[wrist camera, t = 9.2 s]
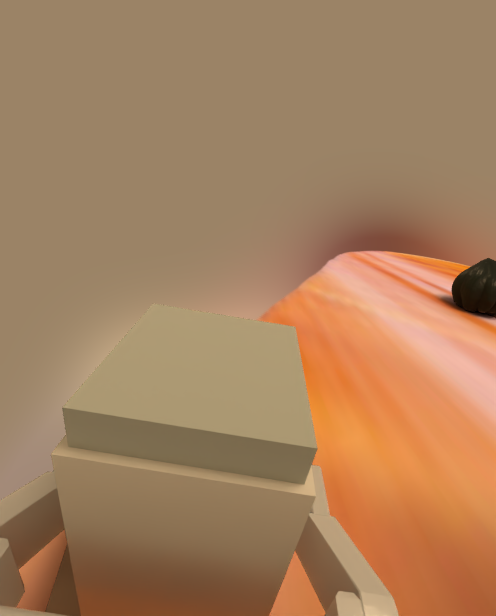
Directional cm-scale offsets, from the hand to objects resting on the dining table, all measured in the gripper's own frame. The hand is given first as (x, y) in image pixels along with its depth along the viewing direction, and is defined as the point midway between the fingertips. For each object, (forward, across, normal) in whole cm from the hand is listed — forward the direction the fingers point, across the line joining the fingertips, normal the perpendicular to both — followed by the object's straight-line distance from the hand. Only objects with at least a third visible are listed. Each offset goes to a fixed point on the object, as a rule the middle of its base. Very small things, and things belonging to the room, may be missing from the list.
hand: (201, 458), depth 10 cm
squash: (+73, -65, +17) cm, 99 cm away
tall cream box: (-1, 0, +6) cm, 6 cm away
